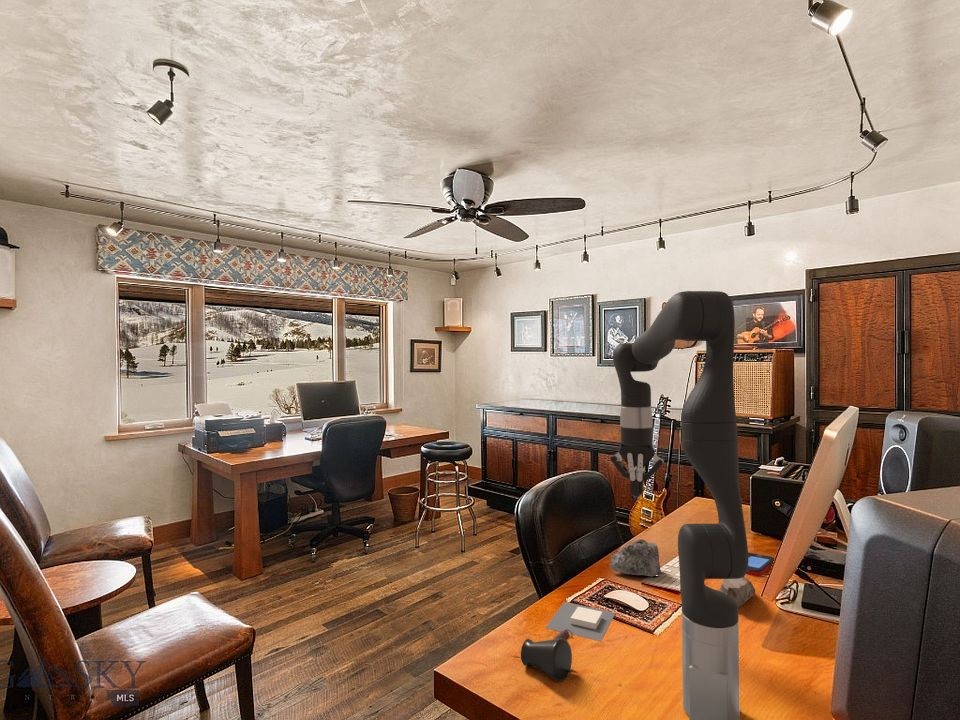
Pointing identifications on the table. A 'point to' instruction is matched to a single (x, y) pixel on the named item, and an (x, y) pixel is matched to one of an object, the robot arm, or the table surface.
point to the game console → (758, 564)
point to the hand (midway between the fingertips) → (637, 495)
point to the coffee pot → (549, 656)
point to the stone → (738, 589)
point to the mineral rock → (637, 559)
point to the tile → (586, 618)
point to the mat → (564, 622)
